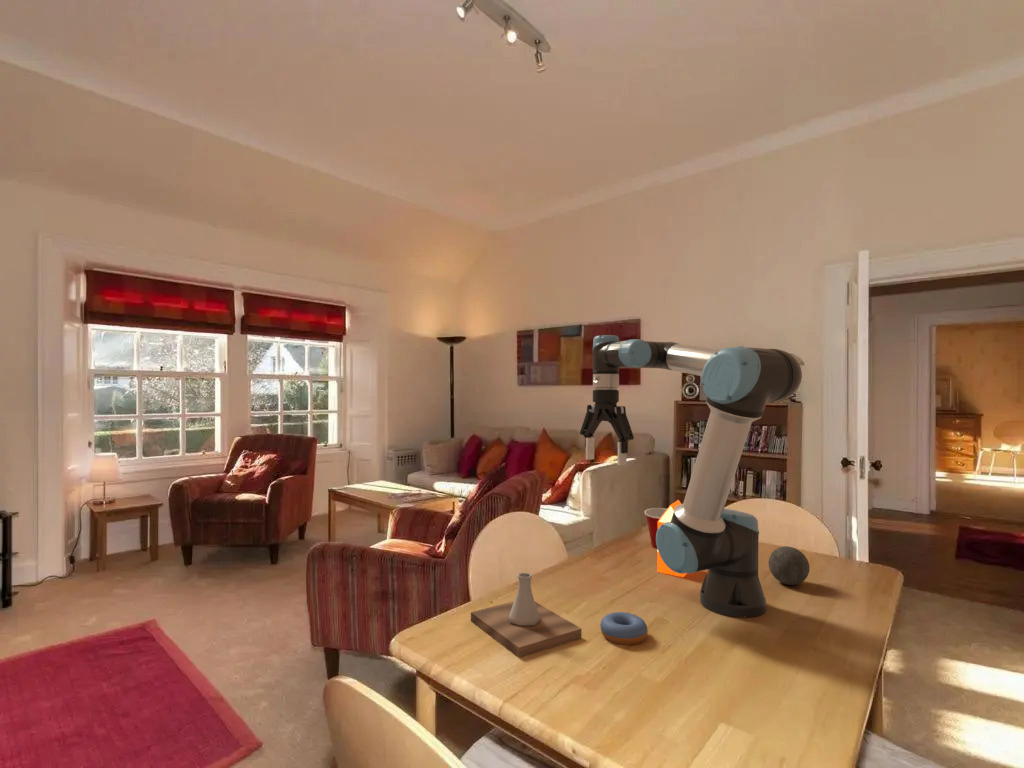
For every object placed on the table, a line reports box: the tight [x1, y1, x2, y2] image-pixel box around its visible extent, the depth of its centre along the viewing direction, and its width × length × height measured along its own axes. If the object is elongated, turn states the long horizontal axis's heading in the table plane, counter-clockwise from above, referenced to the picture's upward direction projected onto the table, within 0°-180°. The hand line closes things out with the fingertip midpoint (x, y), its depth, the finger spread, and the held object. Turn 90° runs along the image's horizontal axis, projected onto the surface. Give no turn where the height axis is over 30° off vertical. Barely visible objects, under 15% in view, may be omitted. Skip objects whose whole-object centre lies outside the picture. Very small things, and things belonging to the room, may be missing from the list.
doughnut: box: [599, 611, 648, 646], centre depth 118 cm, size 10×10×5 cm
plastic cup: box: [644, 507, 668, 550], centre depth 183 cm, size 11×11×12 cm
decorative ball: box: [768, 545, 810, 586], centre depth 150 cm, size 10×10×10 cm
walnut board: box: [470, 601, 582, 659], centre depth 121 cm, size 20×16×2 cm
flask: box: [509, 572, 540, 626], centre depth 121 cm, size 7×7×10 cm
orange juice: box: [656, 499, 688, 578], centre depth 160 cm, size 8×9×20 cm
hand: (605, 462), depth 159 cm, fingers open, 13 cm apart
